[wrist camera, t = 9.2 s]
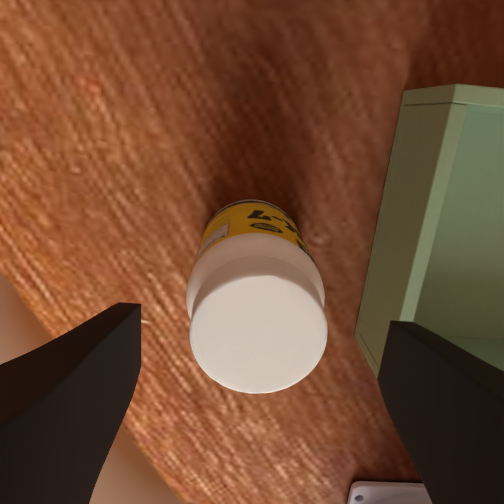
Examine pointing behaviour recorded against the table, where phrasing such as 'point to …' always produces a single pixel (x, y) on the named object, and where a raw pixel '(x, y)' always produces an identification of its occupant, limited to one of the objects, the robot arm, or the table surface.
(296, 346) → the supplement bottle
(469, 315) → the box
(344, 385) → the table surface
